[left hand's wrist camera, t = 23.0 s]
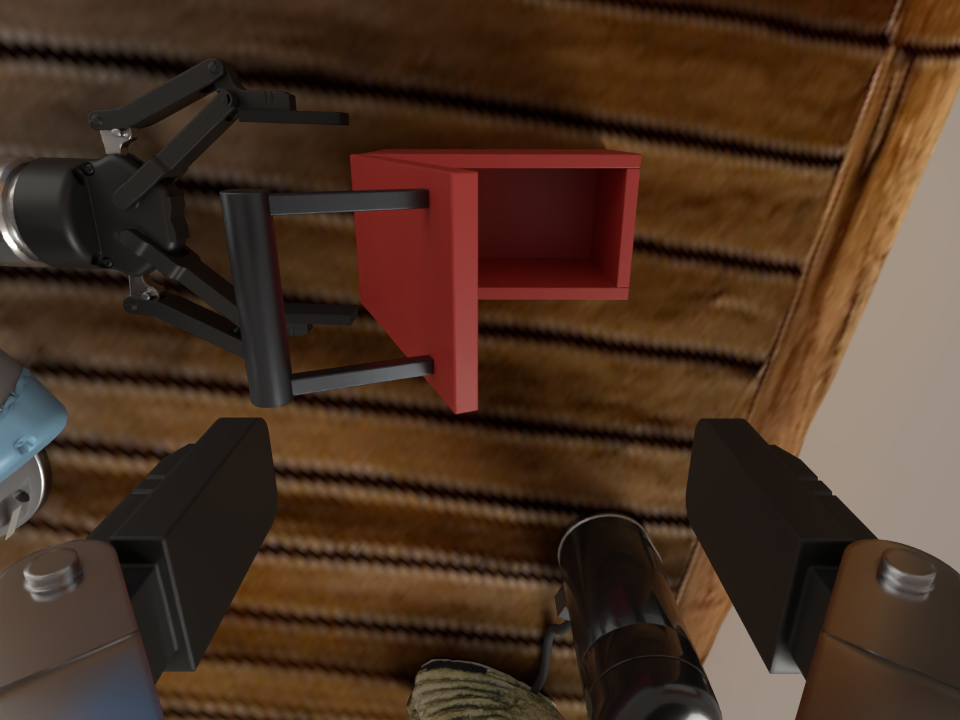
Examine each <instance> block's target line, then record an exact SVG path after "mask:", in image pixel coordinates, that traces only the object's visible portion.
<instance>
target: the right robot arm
mask: <svg viewBox="0 0 960 720" xmlns="http://www.w3.org/2000/svg"><path fill="white" fill-rule="evenodd" d="M237 75H238V71H237V68H236V66H235V65H234V64H233V63H231V62H228V61H225V60H221V59H217V58H212V57H211V58H208V59H206V60H204V61H203V62H201V63H199V64H197V65H196V66H194V67H192V68H190V69H188V70H187V71H185V72H183V73H181V74H179V75H178V76H176V77H174V78H172V79H170V80H169V81H167V82H165V83H163V84H162V85H160V86H158V87H156V88H154V89H153V90H151V91H149V92H147V93H145V94H144V95H142V96H140V97H138V98H137V99H135V100H133V101H131V102H129V103H128V104H126V105H124V106H122V107H120V108H116V109H106V110H95V111H91V112H90V113H89V114H88V117H87V119H88V123H89V125H90V126H91V127H92V128H93V129H95V130H100V133H101V137H102V140H103V143H104V147H105V150H106V155H105V156H103V157H102V158H99V159H75V158H38V159H35V158H32V157H10V156H0V266H23V267H48V266H53V267H59V268H90V269H115V270H119V271H121V272H123V273H125V274H127V275H129V285H130V297H128V298H126V299H125V300H124V301H123V307H124V309H125V310H126V311H127V312H129V313H132V314H139V315H146V316H154V317H157V318H159V319H161V320H163V321H166V322H168V323H170V324H172V325H174V326H176V327H178V328H181V329H183V330H185V331H187V332H189V333H191V334H193V335H196V336H198V337H200V338H202V339H204V340H206V341H208V342H211V343H213V344H215V345H217V346H219V347H221V348H223V349H226V350H228V351H230V352H232V353H234V354H236V355H238V356H241V357H243V358H245V357H244V350H243V344H242V337H241V331H240V324H239V317H238V311H237V304H236V298H235V291H234V286H233V285H231V284H230V283H229V282H227V281H226V280H225V279H224V278H222V277H221V276H220V275H218V274H217V273H216V272H215V271H213V270H212V269H211V268H209V267H208V266H207V265H206V264H204V263H203V262H202V261H201V260H200V257H199V256H198V255H197V254H196V253H195V252H193V251H192V250H191V249H190V248H188V247H187V246H186V245H185V243H186V239H187V238H189V237H190V236H189V229H188V225H187V223H186V220H185V218H184V207H185V202H184V195H183V193H180V192H179V190H178V188H177V187H176V186H175V185H174V183H175V182H176V181H177V180H178V179H179V178H180V177H181V176H182V175H183V174H184V173H185V172H186V171H187V170H188V167H189V166H190V165H191V164H192V163H193V162H194V161H195V160H196V159H197V158H198V157H199V156H200V155H201V154H202V153H203V152H204V151H205V150H206V149H207V148H208V147H209V146H210V145H211V144H212V143H213V142H214V141H215V140H216V139H217V138H218V137H219V136H220V135H222V134H223V133H224V132H225V131H226V130H227V129H228V128H229V127H230V126H231V125H232V124H233V123H234V122H235V121H236V120H237V119H238V118H239V122H265V123H296V124H328V125H349V116H348V113H341V112H315V111H296V101H295V96H294V95H292V94H290V93H287V92H282V91H258V90H246V89H245V88H244V87H243V86H242V84H241V83H240V80H239V78H238V76H237ZM214 91H216V92H218V94H217V95H216V96H215V97H214V98H213V99H212V100H211V101H210V102H209V103H208V104H207V105H206V106H205V107H204V108H203V109H202V110H201V111H200V112H199V113H198V114H197V115H196V116H195V117H194V118H193V119H192V120H191V121H190V122H189V123H188V124H187V125H186V126H185V127H184V128H183V129H182V130H181V131H180V132H179V133H178V134H177V135H176V136H175V137H174V138H173V139H172V140H171V141H170V142H169V143H168V144H167V145H166V146H165V147H164V148H163V149H162V150H161V151H160V152H159V153H158V154H157V155H156V156H154V157H152V158H150V159H149V160H148V161H147V162H146V163H144V162H143V161H141V160H140V159H138V158H137V157H135V156H134V155H132V154H130V153H128V146H129V144H130V143H131V142H133V141H135V140H137V138H138V136H139V134H140V133H139V130H138V129H140V128H145V127H148V126H151V125H153V124H155V123H157V122H159V121H161V120H163V119H165V118H166V117H168V116H170V115H172V114H174V113H175V112H177V111H179V110H181V109H183V108H185V107H186V106H188V105H190V104H192V103H194V102H196V101H197V100H199V99H201V98H203V97H205V96H207V95H208V94H210V93H212V92H214ZM155 269H157V270H158V271H160V272H161V273H162V274H164V275H165V276H166V277H168V278H170V279H174V280H177V281H179V282H180V283H181V284H183V285H184V286H185V287H187V288H188V289H189V290H190V291H192V292H193V293H194V294H196V295H197V296H198V297H200V298H201V299H202V300H204V301H205V302H206V303H208V304H209V305H210V306H212V307H213V308H214V309H216V310H217V311H218V312H220V313H221V314H222V315H223V316H225V317H226V318H225V317H223V316H221V315H219V314H217V313H215V312H213V311H211V310H208V309H206V308H204V307H202V306H200V305H198V304H196V303H194V302H192V301H190V300H187V299H185V298H183V297H181V296H179V295H176V294H173V293H169V292H165V287H164V286H162V285H159V284H157V283H155V282H153V281H152V280H151V279H150V276H149V273H151V272H153V271H154V270H155ZM283 304H284V312H285V320H286V328H287V335H288V336H293V335H294V336H302V335H305V334H308V332H309V331H310V330H311V329H312V328H313V327H312V324H327V325H351V324H352V322H353V321H354V319H355V318H356V316H357V315H358V310H357V305H336V304H302V303H283ZM67 420H68V414H67V410H66V409H65V407H64V406H63V404H62V403H61V402H60V401H59V400H58V399H57V398H56V397H55V396H54V395H52V394H51V393H50V392H49V391H48V390H47V389H46V388H45V387H44V386H43V385H42V384H41V383H40V382H39V381H38V380H37V379H36V378H35V377H34V376H33V375H32V374H31V373H30V370H29V369H28V368H26V367H25V366H21V365H20V364H18V363H17V362H16V361H15V360H14V359H12V358H11V357H10V356H9V355H8V354H6V353H5V352H4V351H3V350H2V349H0V537H1V536H3V535H6V534H7V535H6V539H8V538H9V537H10V536H11V535H12V534H13V533H14V531H15V529H16V528H18V527H19V526H21V525H22V524H24V523H25V522H26V521H27V520H29V519H30V518H31V517H32V516H33V515H34V514H36V513H37V512H38V511H39V510H40V509H41V507H42V506H43V505H44V503H45V502H46V500H47V498H48V495H49V492H50V488H51V479H52V477H51V468H50V463H49V460H48V456H47V454H46V452H45V449H44V447H45V446H46V445H48V444H49V443H50V442H51V441H52V440H53V439H54V438H55V437H56V436H57V435H58V434H59V433H60V432H61V431H62V430H63V429H64V427H65V425H66V423H67ZM6 539H5V540H6Z"/></svg>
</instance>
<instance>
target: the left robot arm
mask: <svg viewBox="0 0 960 720" xmlns="http://www.w3.org/2000/svg"><path fill="white" fill-rule="evenodd" d="M132 491H133V492H132V494H128V495H127V496H126V498H125V499H124V500H123V501H122V502H121V503H120V504H119V505H118V506H117V507H116V508H115V509H114V510H113V511H112V512H111V513H110V514H109V515H108V516H107V517H106V518H105V519H104V520H103V521H102V522H101V523H100V524H99V525H98V526H97V527H96V529H95V530H94V531H93V532H92V533H91V534H90V535H89V536H88V537H87V538H86V539H80V540H72V541H67V542H62V543H59V544H55V545H52V546H49V547H46V548H43V549H41V550H38V551H36V552H34V553H32V554H30V555H28V556H26V557H24V558H22V559H20V560H19V561H17V562H16V563H14V564H13V565H11V566H10V567H8V568H7V569H6V570H5V571H3V572H2V573H1V574H0V720H165V719H164V715H163V712H162V708H161V705H160V701H159V698H158V694H157V691H156V687H155V684H156V683H157V681H158V679H159V678H160V676H161V674H162V672H163V671H195V670H196V668H197V666H198V664H199V662H200V660H201V659H202V657H203V655H204V653H205V651H206V649H207V647H208V645H209V643H210V641H211V640H212V638H213V636H214V634H215V632H216V630H217V628H218V626H219V624H220V623H221V621H222V619H223V617H224V615H225V613H226V611H227V609H228V607H229V606H230V604H231V602H232V600H233V598H234V596H235V594H236V592H237V590H238V588H239V587H240V585H241V583H242V581H243V579H244V577H245V575H246V573H247V571H248V570H249V568H250V566H251V564H252V562H253V560H254V558H255V556H256V554H257V553H258V551H259V549H260V547H261V545H262V543H263V541H264V539H265V537H266V535H267V534H268V532H269V530H270V528H271V526H272V524H273V521H274V518H275V514H276V508H277V487H276V480H275V473H274V466H273V459H272V452H271V445H270V438H269V432H268V427H267V424H266V422H265V420H264V419H263V418H219V419H218V420H216V422H215V423H214V424H213V425H212V426H211V427H210V428H209V429H208V430H207V431H206V433H205V434H204V435H203V436H202V437H201V438H200V439H199V440H198V441H197V442H196V443H195V444H188V445H186V446H184V447H183V448H181V449H179V450H177V451H176V452H174V453H172V454H170V455H169V456H167V457H165V458H163V459H162V460H161V461H160V462H159V463H158V464H157V465H156V467H155V468H154V469H153V470H152V471H151V472H150V473H149V474H148V475H147V478H146V479H143V480H142V481H141V482H140V483H139V484H138V485H137V486H136V487H135V488H134V489H133V490H132ZM686 509H687V515H688V519H689V522H690V525H691V527H692V529H693V531H694V532H695V534H696V536H697V538H698V540H699V542H700V544H701V546H702V547H703V549H704V551H705V553H706V555H707V557H708V559H709V561H710V562H711V564H712V566H713V568H714V570H715V572H716V574H717V575H718V577H719V579H720V581H721V583H722V585H723V587H724V589H725V590H726V592H727V594H728V596H729V598H730V600H731V602H732V604H733V605H734V607H735V609H736V611H737V613H738V615H739V617H740V618H741V620H742V622H743V624H744V626H745V628H746V630H747V631H748V633H749V635H750V637H751V639H752V641H753V643H754V645H755V646H756V648H757V650H758V652H759V654H760V656H761V658H762V660H763V661H764V663H765V665H766V667H767V669H768V671H769V673H770V674H802V675H803V676H804V678H805V680H806V684H805V687H804V691H803V694H802V698H801V701H800V705H799V708H798V712H797V715H796V719H795V720H960V574H959V573H958V572H957V571H955V570H954V569H953V568H951V567H950V566H949V565H947V564H946V563H944V562H943V561H941V560H940V559H938V558H936V557H934V556H932V555H930V554H928V553H926V552H924V551H922V550H919V549H917V548H914V547H911V546H908V545H905V544H901V543H897V542H893V541H888V540H879V539H878V538H877V537H876V536H875V535H874V534H873V533H872V532H871V531H870V530H869V529H868V528H867V527H866V526H865V525H864V524H863V523H862V522H861V521H860V520H859V519H858V518H857V517H856V516H855V515H854V514H853V513H852V512H851V511H850V510H849V509H848V508H847V507H846V505H845V504H843V502H842V501H841V500H840V499H839V498H838V497H837V496H834V495H832V491H831V490H830V489H829V488H828V487H827V486H826V485H825V484H824V483H823V482H822V481H818V477H817V476H816V475H815V474H814V473H813V472H812V471H811V470H810V469H809V468H808V467H807V466H806V465H805V464H804V462H802V460H800V459H799V458H797V457H795V456H793V455H792V454H790V453H788V452H786V451H785V450H783V449H781V448H779V447H778V446H776V445H768V444H767V442H766V441H765V440H764V439H763V438H762V437H761V436H760V435H759V434H758V433H757V432H756V430H755V429H754V428H753V427H752V426H751V425H750V424H749V423H748V422H747V421H746V420H745V419H700V420H699V422H698V423H697V426H696V429H695V434H694V441H693V448H692V454H691V461H690V468H689V475H688V482H687V489H686ZM653 548H654V549H653ZM654 550H655V551H654ZM655 552H656V553H657V555H658V556H659V558H660V560H661V557H660V555H659V553H658V552H657V550H656V548H655V547H654V545H653V544H652V541H651V538H650V536H649V534H648V532H647V530H646V528H645V527H644V526H643V525H642V523H640V522H639V521H638V520H637V519H635V518H634V517H632V516H630V515H628V514H625V513H622V512H618V511H597V512H593V513H589V514H586V515H584V516H582V517H580V518H578V519H577V520H575V521H574V522H572V523H571V524H570V525H569V526H568V527H567V528H566V529H565V531H564V532H563V534H562V535H561V537H560V539H559V542H558V546H557V557H558V563H559V567H560V569H561V573H562V580H563V585H562V587H561V588H560V590H559V591H558V593H557V594H556V596H555V603H556V609H557V615H558V617H560V618H562V619H565V620H566V621H565V622H564V623H562V624H560V625H558V624H552V625H551V626H550V627H549V628H548V630H547V631H546V634H545V638H544V642H543V650H542V661H541V667H540V671H539V674H538V677H537V679H536V681H535V682H534V684H533V685H532V687H531V689H530V692H532V693H534V694H535V695H537V694H538V693H539V692H540V690H541V688H542V687H543V685H544V683H545V681H546V678H547V675H548V671H549V666H550V659H551V649H552V642H553V639H554V636H555V635H556V634H559V635H563V634H565V633H567V632H568V631H570V630H571V629H572V634H573V640H574V645H575V650H576V656H577V661H578V667H579V672H580V677H581V682H582V687H583V693H584V698H585V704H586V709H587V715H588V720H722V715H721V711H720V708H719V705H718V702H717V700H716V697H715V695H714V692H713V690H712V688H711V685H710V683H709V680H708V678H707V676H706V673H705V671H704V668H703V666H702V664H701V661H700V659H699V656H698V654H697V652H696V650H695V647H694V645H693V642H692V640H691V637H690V635H689V633H688V630H687V628H686V625H685V623H684V621H683V618H682V616H681V613H680V611H679V609H678V606H677V604H676V601H675V599H674V597H673V594H672V592H671V589H670V587H669V585H668V582H667V580H666V577H665V575H664V573H663V570H662V568H661V565H660V563H659V560H658V558H657V556H656V553H655ZM661 561H662V560H661ZM662 563H663V562H662Z"/></svg>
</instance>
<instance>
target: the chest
mask: <svg viewBox="0 0 960 720" xmlns="http://www.w3.org/2000/svg"><path fill="white" fill-rule="evenodd" d="M363 154H368V155H375V156H381V157H388V158H394V159H401V160H407V161H414V162H420V163H427V164H433V165H440V166H446V167H453V168H459V169H465V170H472V171H477V172H478V300H627V299H628V293H629V282H630V271H631V260H632V250H633V239H634V228H635V218H636V207H637V196H638V186H639V175H640V164H641V154H637V153H629V152H622V151H615V150H608V149H384V150H378V151H373V152H368V153H363Z"/></svg>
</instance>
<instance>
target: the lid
mask: <svg viewBox="0 0 960 720" xmlns="http://www.w3.org/2000/svg"><path fill="white" fill-rule="evenodd" d="M350 163H351V176H352V190H353V191H327V192H298V193H270V191H269V190H267V189H231V190H223V191H220V199H221V205H222V212H223V218H224V225H225V232H226V238H227V245H228V251H229V258H230V265H231V271H232V278H233V284H234V291H235V298H236V304H237V311H238V317H239V324H240V331H241V337H242V344H243V350H244V357H245V364H246V370H247V377H248V383H249V390H250V397H251V402H252V404H253V405H255V406H257V407H262V408H272V407H278V406H282V405H285V404H287V403H289V402H291V401H292V400H293V399H294V397H295V395H301V394H307V393H314V392H320V391H327V390H333V389H340V388H347V387H353V386H360V385H366V384H373V383H379V382H386V381H392V380H399V379H406V378H412V377H419V376H423V377H424V378H425V379H426V380H427V381H428V383H429V384H430V385H431V386H432V387H433V389H434V390H435V391H436V392H437V393H438V394H439V396H440V397H441V398H442V399H443V400H444V402H445V403H446V404H447V405H448V406H449V408H450V409H451V410H452V411H453V412H454V413H455V414H460V413H465V412H471V411H476V410H478V172H477V171H472V170H465V169H459V168H453V167H446V166H440V165H433V164H427V163H420V162H414V161H407V160H401V159H394V158H388V157H381V156H375V155H368V154H351V155H350ZM339 212H354V217H355V231H356V244H357V258H358V271H359V285H360V298H361V303H362V304H363V305H364V307H365V308H366V309H367V310H368V311H369V312H370V314H371V315H372V316H373V317H374V318H375V320H376V321H377V322H378V323H379V324H380V326H381V327H382V328H383V329H384V330H385V331H386V333H387V334H388V335H389V336H390V337H391V339H392V340H393V341H394V342H395V343H396V345H397V346H398V347H399V348H400V349H401V351H402V352H403V353H404V354H405V355H406V356H407V358H401V359H394V360H387V361H380V362H373V363H365V364H358V365H351V366H344V367H337V368H330V369H322V370H315V371H308V372H301V373H294V374H292V369H291V361H290V353H289V345H288V337H287V328H286V320H285V312H284V304H283V296H282V287H281V279H280V271H279V263H278V255H277V246H276V238H275V230H274V222H273V216H276V215H297V214H318V213H339Z"/></svg>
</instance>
